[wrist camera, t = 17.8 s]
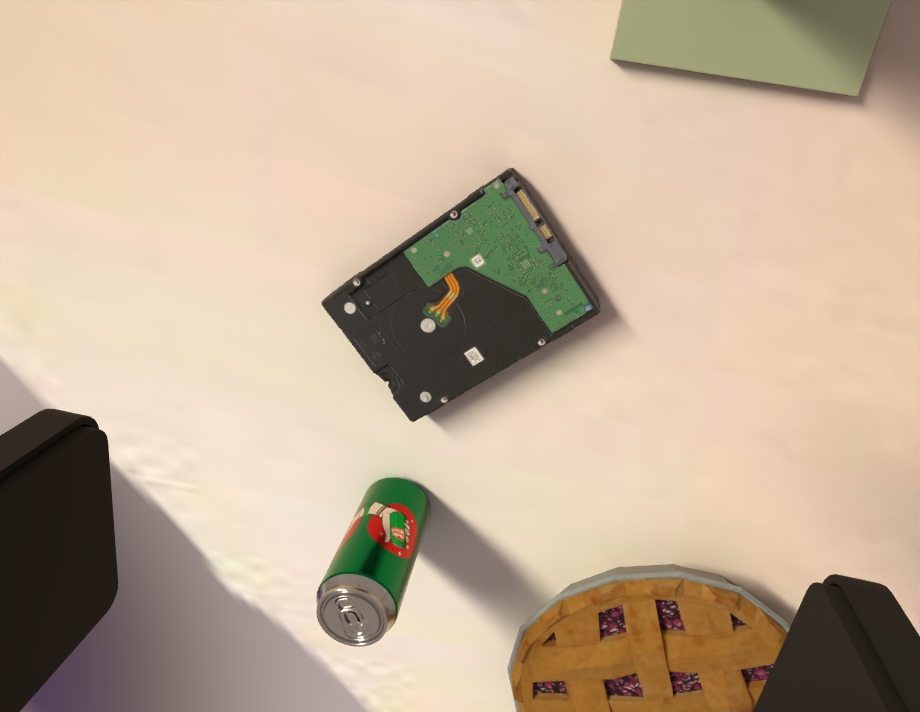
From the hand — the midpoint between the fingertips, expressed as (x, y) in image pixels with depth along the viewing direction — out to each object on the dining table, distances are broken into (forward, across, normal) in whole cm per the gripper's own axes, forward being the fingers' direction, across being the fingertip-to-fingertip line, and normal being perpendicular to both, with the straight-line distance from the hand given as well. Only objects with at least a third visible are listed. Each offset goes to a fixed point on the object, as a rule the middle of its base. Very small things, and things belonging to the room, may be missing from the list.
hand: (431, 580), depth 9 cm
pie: (+35, -15, +34) cm, 51 cm away
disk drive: (+35, +4, +7) cm, 36 cm away
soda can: (+34, +6, +24) cm, 42 cm away
